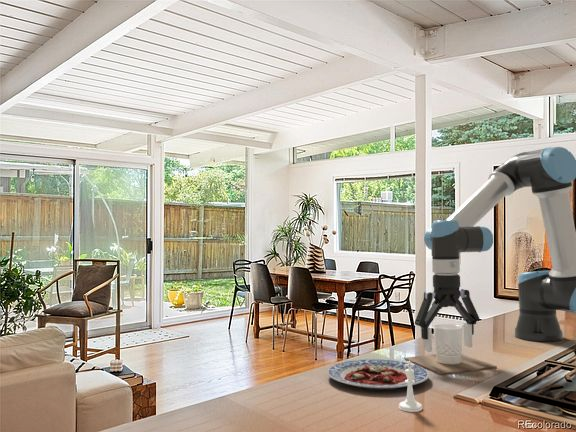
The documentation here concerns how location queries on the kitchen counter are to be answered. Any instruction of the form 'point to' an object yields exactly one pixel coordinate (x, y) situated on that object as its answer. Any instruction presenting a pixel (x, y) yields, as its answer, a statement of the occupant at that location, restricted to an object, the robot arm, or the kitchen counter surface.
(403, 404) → the chess piece
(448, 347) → the white cup
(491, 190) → the robot arm
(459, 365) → the plate
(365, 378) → the ceramic plate
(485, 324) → the kitchen counter surface
